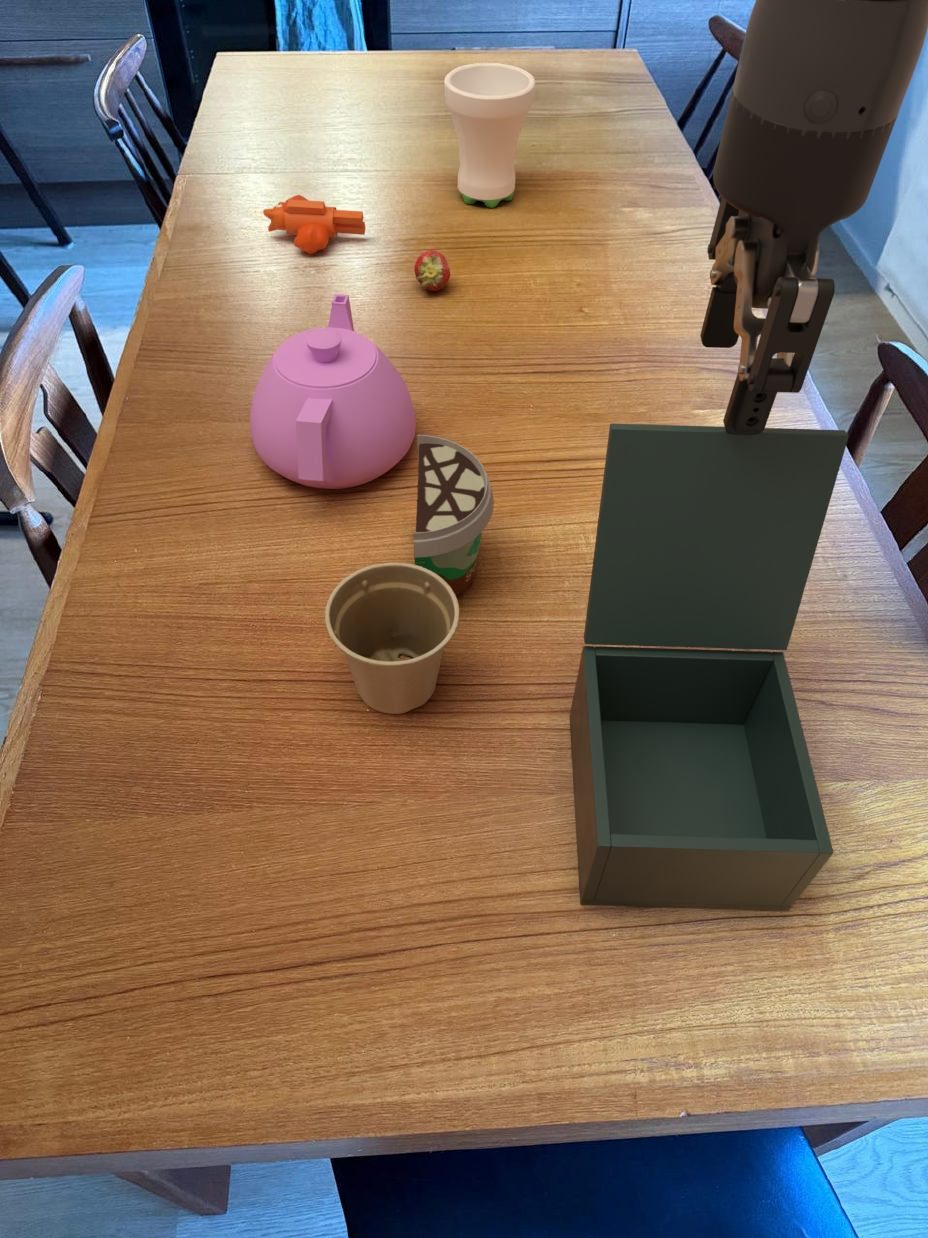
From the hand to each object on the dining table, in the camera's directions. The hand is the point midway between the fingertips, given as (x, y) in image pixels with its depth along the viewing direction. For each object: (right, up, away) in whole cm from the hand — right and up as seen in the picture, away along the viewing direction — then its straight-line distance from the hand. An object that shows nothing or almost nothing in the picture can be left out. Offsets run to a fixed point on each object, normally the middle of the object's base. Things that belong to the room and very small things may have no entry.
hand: (728, 385), depth 54 cm
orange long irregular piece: (-34, +33, +58) cm, 75 cm away
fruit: (-20, +25, +52) cm, 61 cm away
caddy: (-1, -27, +9) cm, 29 cm away
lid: (-1, -10, +2) cm, 10 cm away
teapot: (-28, +3, +34) cm, 44 cm away
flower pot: (-21, -19, +16) cm, 32 cm away
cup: (-13, +43, +67) cm, 80 cm away
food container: (-17, -10, +24) cm, 30 cm away
